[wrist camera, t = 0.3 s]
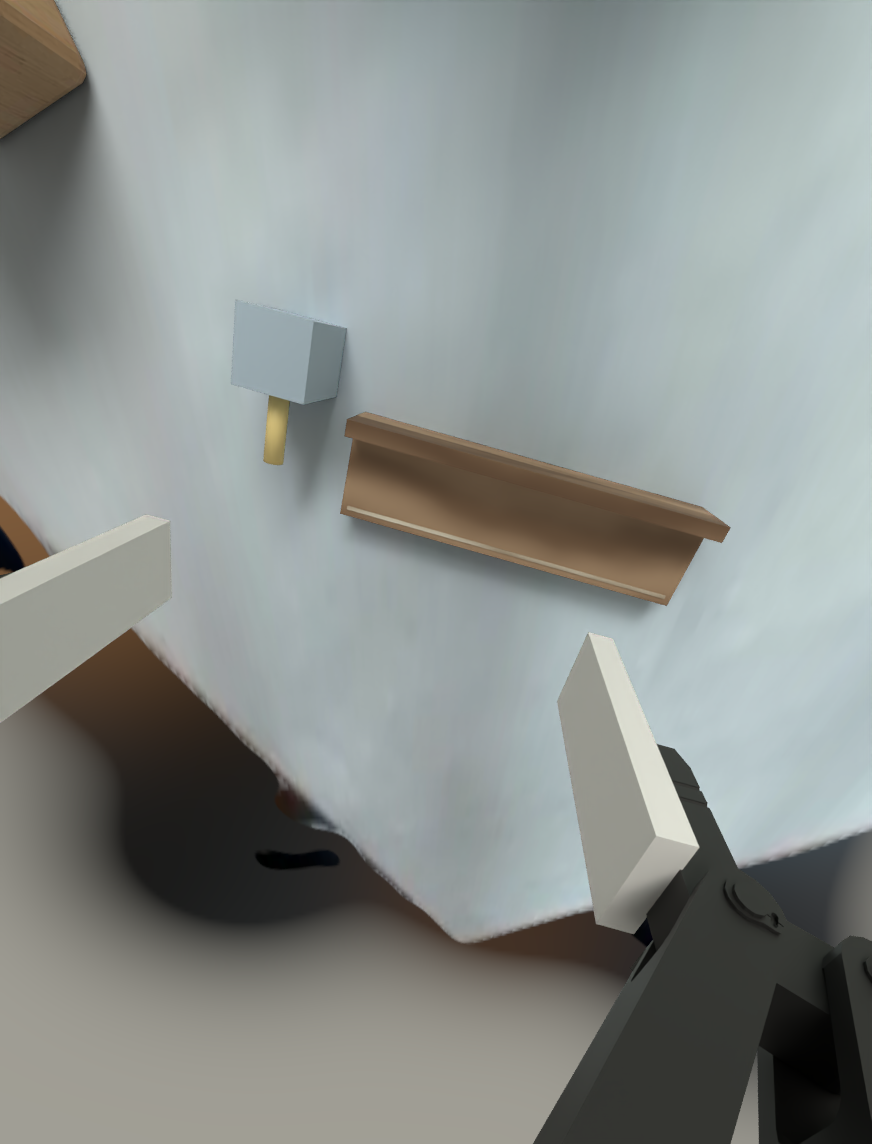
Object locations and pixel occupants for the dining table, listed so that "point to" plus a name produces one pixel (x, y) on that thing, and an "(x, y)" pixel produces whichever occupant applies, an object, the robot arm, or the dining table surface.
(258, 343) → the grey cube mallet
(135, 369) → the dining table surface
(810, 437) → the dining table surface
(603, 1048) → the robot arm
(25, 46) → the wooden block
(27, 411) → the dining table surface
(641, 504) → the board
